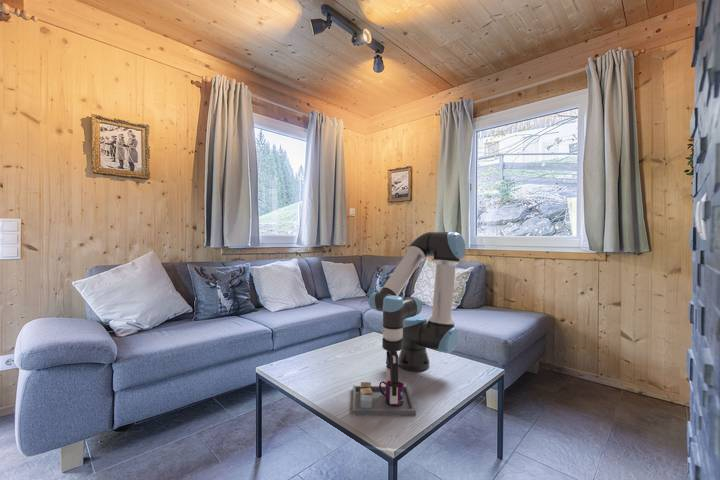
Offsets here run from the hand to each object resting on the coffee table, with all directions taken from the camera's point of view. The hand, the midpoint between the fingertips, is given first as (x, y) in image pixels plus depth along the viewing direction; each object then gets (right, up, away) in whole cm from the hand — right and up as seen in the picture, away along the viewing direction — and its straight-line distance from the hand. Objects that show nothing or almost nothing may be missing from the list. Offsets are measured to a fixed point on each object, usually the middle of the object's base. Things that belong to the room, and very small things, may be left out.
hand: (391, 393), depth 123 cm
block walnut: (-10, -3, +5) cm, 11 cm away
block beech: (-10, -3, 0) cm, 10 cm away
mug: (0, -3, +1) cm, 3 cm away
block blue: (-9, -3, -5) cm, 11 cm away
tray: (-4, -4, 0) cm, 5 cm away
